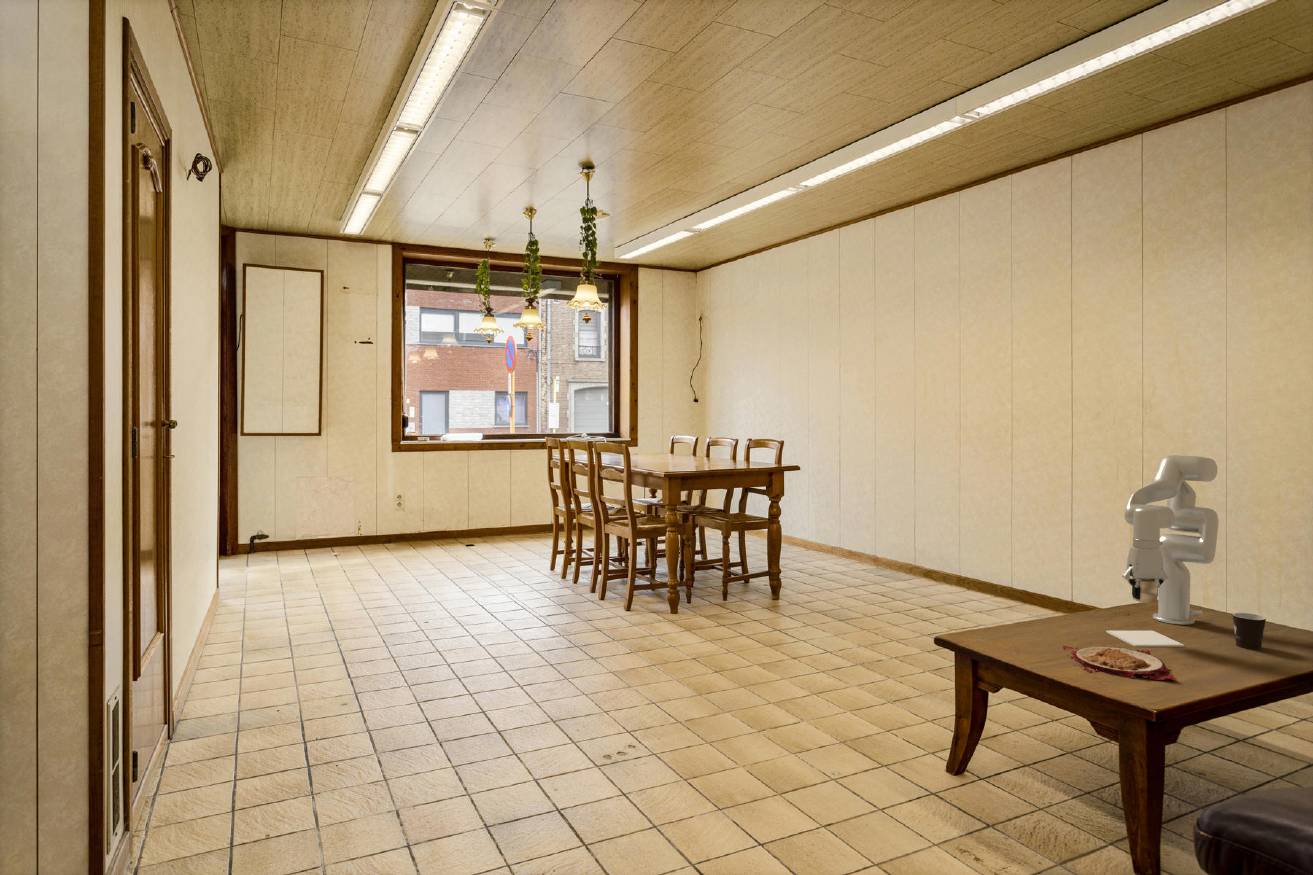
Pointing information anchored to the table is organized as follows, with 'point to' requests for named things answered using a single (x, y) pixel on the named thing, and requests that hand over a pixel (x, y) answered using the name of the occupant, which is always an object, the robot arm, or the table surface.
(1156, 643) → the white mat
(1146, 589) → the birch block
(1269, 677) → the table surface
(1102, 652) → the plate with food
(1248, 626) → the coffee mug
